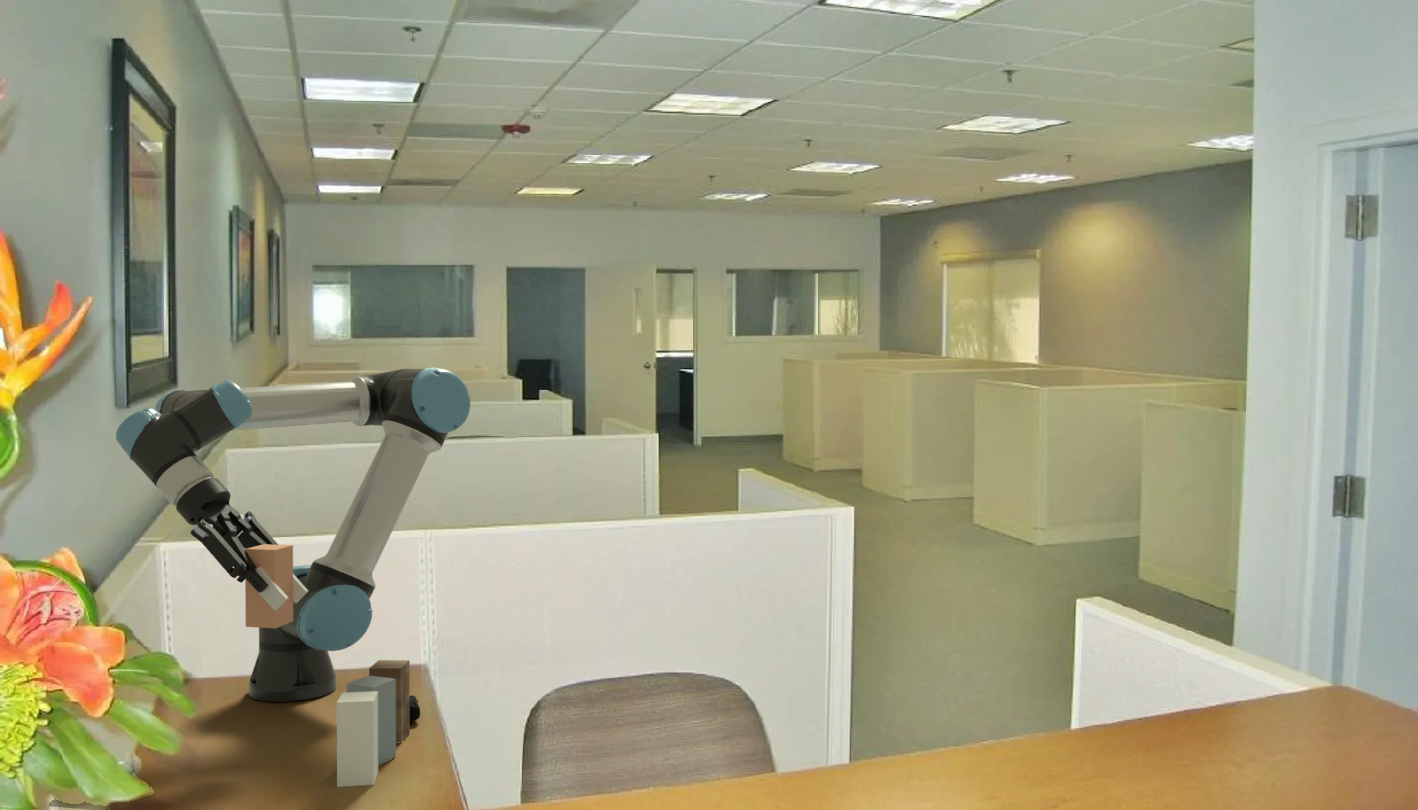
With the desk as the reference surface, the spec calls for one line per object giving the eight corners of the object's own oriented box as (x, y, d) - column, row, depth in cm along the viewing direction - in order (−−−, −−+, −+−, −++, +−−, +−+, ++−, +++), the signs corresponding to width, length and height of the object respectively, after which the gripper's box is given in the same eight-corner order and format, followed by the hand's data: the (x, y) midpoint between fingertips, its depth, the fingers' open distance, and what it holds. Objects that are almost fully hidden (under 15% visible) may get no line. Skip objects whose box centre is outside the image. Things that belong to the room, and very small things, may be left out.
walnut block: (379, 733, 182) (378, 660, 182) (409, 733, 182) (409, 660, 182) (369, 743, 177) (369, 668, 177) (401, 743, 177) (400, 668, 177)
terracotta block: (264, 619, 177) (263, 544, 177) (293, 621, 176) (292, 545, 176) (245, 626, 172) (245, 548, 172) (275, 628, 171) (275, 549, 171)
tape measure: (420, 725, 187) (420, 703, 187) (377, 729, 185) (377, 706, 185) (418, 714, 193) (418, 692, 193) (376, 717, 191) (376, 695, 191)
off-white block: (342, 774, 163) (342, 692, 163) (378, 772, 164) (377, 691, 164) (337, 786, 158) (336, 702, 158) (373, 784, 159) (373, 700, 159)
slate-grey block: (369, 753, 173) (369, 675, 172) (395, 757, 171) (395, 678, 170) (347, 763, 168) (346, 683, 168) (374, 767, 166) (373, 687, 166)
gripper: (215, 502, 185) (307, 605, 183) (141, 515, 168) (241, 629, 165) (244, 471, 184) (337, 574, 182) (172, 480, 167) (274, 595, 164)
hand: (291, 600), depth 173 cm, fingers closed on terracotta block, 5 cm apart
